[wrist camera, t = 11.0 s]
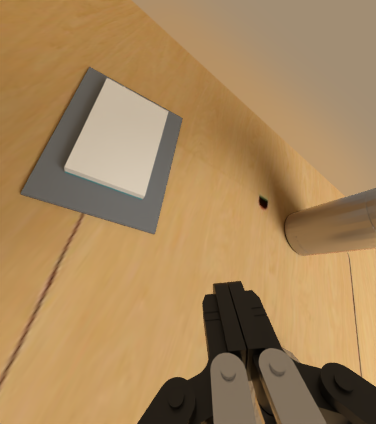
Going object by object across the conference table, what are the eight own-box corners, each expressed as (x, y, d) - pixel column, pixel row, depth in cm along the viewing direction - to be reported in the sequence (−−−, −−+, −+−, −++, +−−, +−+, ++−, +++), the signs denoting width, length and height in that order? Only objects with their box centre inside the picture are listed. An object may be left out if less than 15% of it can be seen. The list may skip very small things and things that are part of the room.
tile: (144, 196, 28) (168, 111, 34) (64, 166, 24) (107, 77, 31) (141, 199, 30) (165, 117, 36) (64, 172, 26) (105, 85, 32)
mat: (153, 234, 29) (154, 233, 29) (21, 194, 23) (20, 193, 23) (181, 119, 38) (182, 118, 38) (89, 69, 32) (89, 66, 32)
